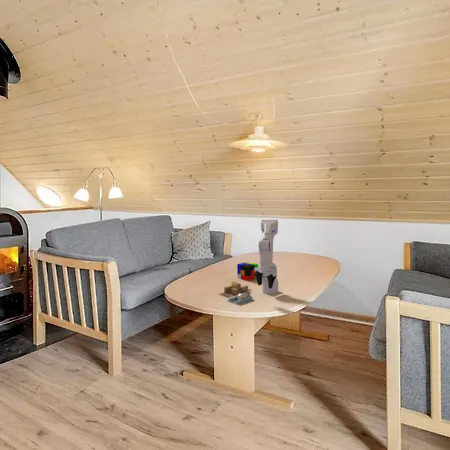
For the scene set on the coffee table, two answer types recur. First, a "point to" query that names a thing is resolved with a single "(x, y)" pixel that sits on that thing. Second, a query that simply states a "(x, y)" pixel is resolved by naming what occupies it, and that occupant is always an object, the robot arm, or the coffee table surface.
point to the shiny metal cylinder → (242, 295)
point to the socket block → (234, 291)
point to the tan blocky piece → (234, 285)
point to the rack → (241, 301)
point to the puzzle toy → (246, 271)
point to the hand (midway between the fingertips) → (265, 286)
